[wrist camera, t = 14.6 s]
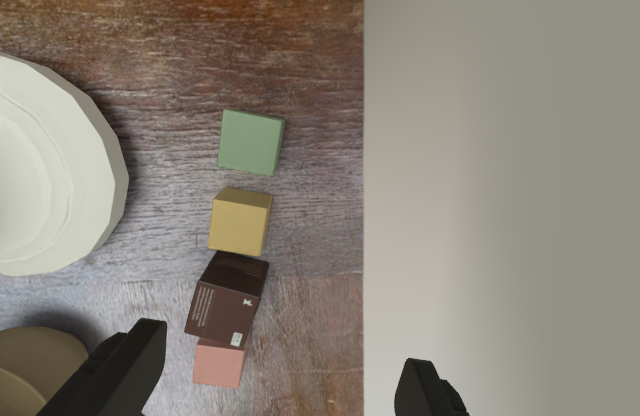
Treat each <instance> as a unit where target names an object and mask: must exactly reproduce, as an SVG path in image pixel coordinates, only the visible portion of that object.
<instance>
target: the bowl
mask: <svg viewBox="0 0 640 416" xmlns="http://www.w3.org/2000/svg"><path fill="white" fill-rule="evenodd" d="M88 358H89V356H88V354H87V350H86V347H85V345H84V344H83V342H82V341H81V340H80V339H79V338H78V337H76V336H75V335H73V334H71V333H69V332H65V331H59V330H56V329H52V328H48V327H41V326H24V327H15V328H9V329H6V330H3V331H0V416H36V414H37V413H38V412H39V411H40V410H41V409H42V408H43V407H44V406H45V404H46V403H47V402H48V401H49V400H50V399H51V398H52V397H53V396H54V394H55V393H56V392H57V391H58V390H59V389H60V388H61V387H62V386H63V385H64V383H65V382H66V381H67V380H68V379H69V378H70V377H71V376H72V375H73V373H74V372H75V371H76V370H77V371H78V369H79V367H80V366H81V365H82V363H83V362H84V361H85V360H86V359H88Z"/></svg>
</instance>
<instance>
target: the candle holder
mask: <svg viewBox="0 0 640 416" xmlns="http://www.w3.org/2000/svg"><path fill="white" fill-rule="evenodd" d="M128 183H129V175H128V172H127V168H126V165H125V162H124V158H123V155H122V151H121V148H120V144H119V141H118V137H117V136H116V134H115V133H114V131H113V130H112V128H111V127H110V125H109V124H108V122H107V121H106V119H105V118H104V116H103V115H102V113H101V112H100V111H99V109H98V108H97V106H96V105H95V103H94V102H93V100H92V99H91V97H90V96H88V95H87V94H85V93H84V92H82V91H81V90H80V89H78V88H77V87H75V86H74V85H73V84H71V83H70V82H68V81H67V80H65V79H64V78H63V77H61V76H60V75H58V74H57V73H55V72H54V71H53V70H51V69H50V68H48V67H45V66H42V65H39V64H36V63H33V62H29V61H26V60H23V59H20V58H17V57H14V56H11V55H8V54H5V53H2V52H0V273H1V274H5V275H9V276H13V277H18V276H26V275H34V274H42V273H50V272H56V271H58V270H60V269H62V268H64V267H66V266H67V265H69V264H71V263H73V262H75V261H77V260H79V259H81V258H83V257H85V256H87V255H89V254H90V253H92V252H93V251H95V250H96V249H98V248H99V247H101V246H102V245H104V243H105V242H106V240H107V239H108V237H109V236H110V234H111V233H112V231H113V230H114V228H115V227H116V225H117V224H118V222H119V221H120V219H121V218H122V216H123V212H124V206H125V201H126V195H127V189H128Z"/></svg>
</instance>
